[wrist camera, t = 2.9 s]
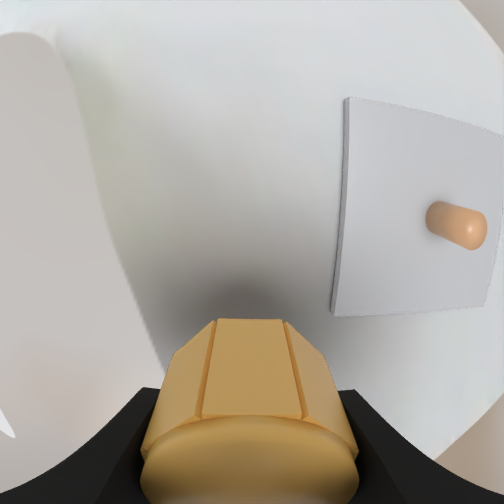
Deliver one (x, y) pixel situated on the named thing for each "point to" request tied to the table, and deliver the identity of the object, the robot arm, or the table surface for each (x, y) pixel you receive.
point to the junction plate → (415, 211)
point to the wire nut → (249, 422)
